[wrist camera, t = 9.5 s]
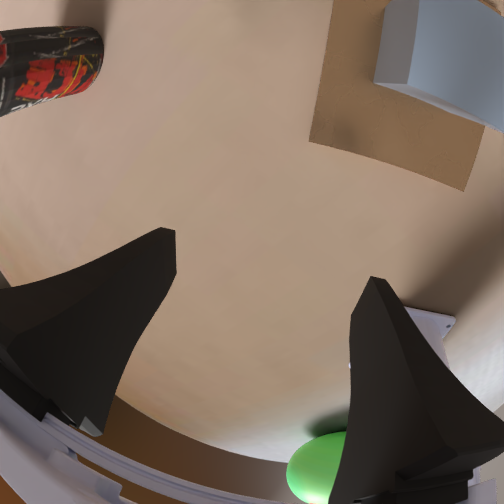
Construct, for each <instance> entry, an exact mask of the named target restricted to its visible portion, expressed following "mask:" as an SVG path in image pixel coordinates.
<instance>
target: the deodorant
mask: <svg viewBox="0 0 504 504" xmlns="http://www.w3.org/2000/svg"><path fill="white" fill-rule="evenodd" d="M103 55H104V51H103V43H102V39H101V37H100V35H99V34H98V32H97V31H96V30H94V29H93V28H90V27H81V26H54V27H34V28H22V29H13V30H6V31H0V117H2V116H4V115H7V114H9V113H12V112H15V111H18V110H21V109H24V108H27V107H30V106H33V105H36V104H39V103H43V102H46V101H49V100H53V99H57V98H61V97H64V96H68V95H73V94H77V93H80V92H83V91H84V90H86V89H87V88H88V87H90V85H91V84H92V83H93V82H94V81H95V79H96V77H97V75H98V74H99V72H100V69H101V66H102V62H103Z"/></svg>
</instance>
